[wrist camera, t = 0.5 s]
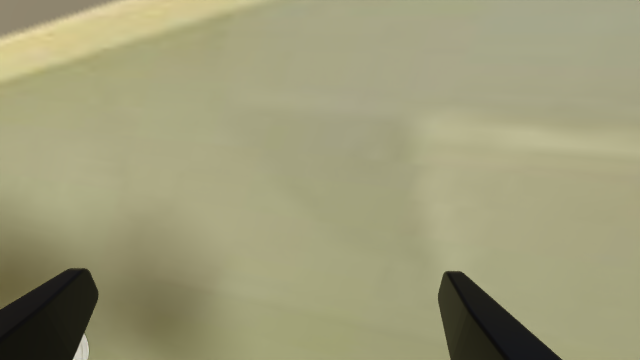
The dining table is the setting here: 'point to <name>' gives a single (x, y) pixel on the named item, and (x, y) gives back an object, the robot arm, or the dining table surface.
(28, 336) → the robot arm
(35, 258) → the dining table surface
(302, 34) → the dining table surface
